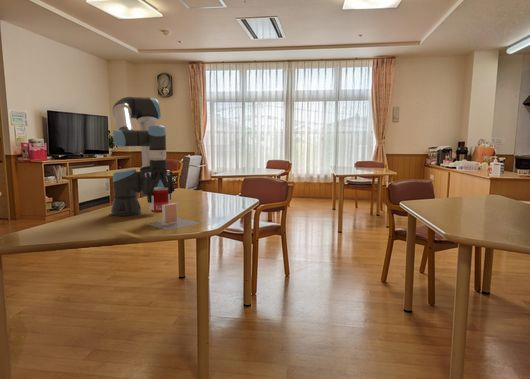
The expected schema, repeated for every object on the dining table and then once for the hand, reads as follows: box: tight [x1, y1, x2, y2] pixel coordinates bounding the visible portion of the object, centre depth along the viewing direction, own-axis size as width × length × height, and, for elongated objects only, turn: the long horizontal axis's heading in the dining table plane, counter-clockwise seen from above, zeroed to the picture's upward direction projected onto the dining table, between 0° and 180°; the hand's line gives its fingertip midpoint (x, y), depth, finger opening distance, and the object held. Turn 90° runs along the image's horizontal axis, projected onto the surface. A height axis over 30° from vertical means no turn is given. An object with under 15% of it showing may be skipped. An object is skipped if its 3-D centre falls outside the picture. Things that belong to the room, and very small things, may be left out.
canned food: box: [150, 187, 169, 214], centre depth 172 cm, size 8×8×11 cm
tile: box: [161, 202, 178, 225], centre depth 168 cm, size 2×7×9 cm, turn 140°
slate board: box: [146, 217, 201, 231], centre depth 168 cm, size 18×18×1 cm
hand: (159, 208), depth 172 cm, fingers closed on canned food, 8 cm apart
